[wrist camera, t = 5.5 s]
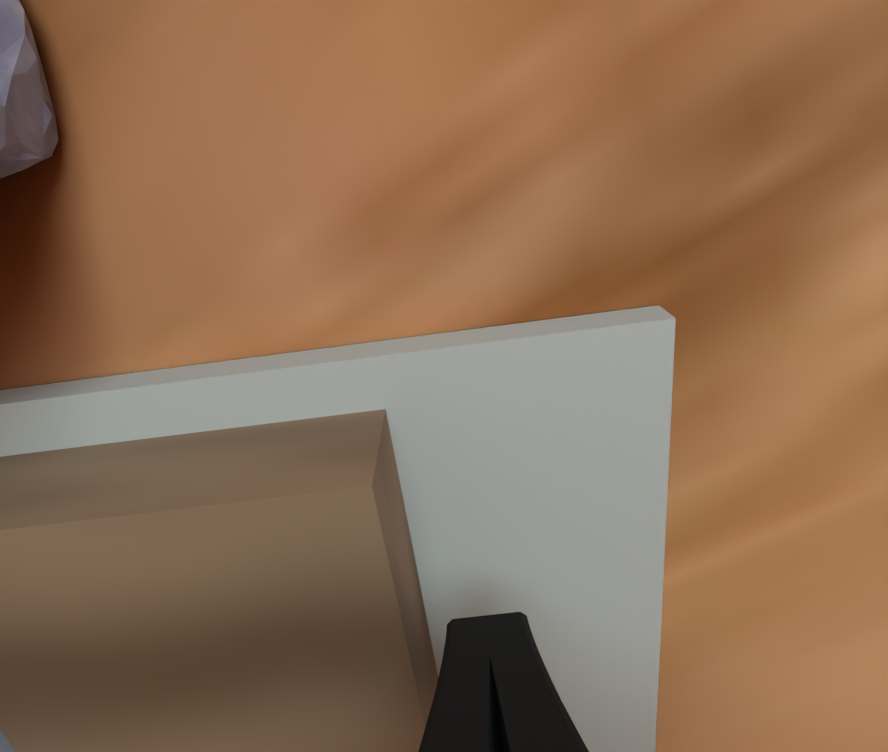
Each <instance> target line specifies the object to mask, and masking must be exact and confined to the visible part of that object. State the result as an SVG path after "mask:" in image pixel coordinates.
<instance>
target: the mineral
mask: <svg viewBox="0 0 888 752" xmlns="http://www.w3.org/2000/svg"><path fill="white" fill-rule="evenodd" d="M58 140H59V139H58V131H57V124H56V117H55V112H54V109H53V105H52V101H51V97H50V94H49V90H48V86H47V82H46V79H45V75H44V71H43V68H42V64H41V61H40V57H39V54H38V50H37V47H36V43H35V40H34V36H33V33H32V29H31V26H30V24H29V21H28V19H27V16H26V14H25V11H24V9H23V7H22V5H21V3H20V0H0V178H3V177H6V176H8V175H11V174H14V173H16V172H19V171H22V170H24V169H27V168H29V167H30V166H32V165H34V164H36V163H38V162H40V161H42V160H44V159H47V158H49V157H51V156H52V154H53V152H54V149H55V147H56V145H57V142H58Z"/></svg>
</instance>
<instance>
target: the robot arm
mask: <svg viewBox="0 0 888 752" xmlns="http://www.w3.org/2000/svg"><path fill="white" fill-rule="evenodd" d="M418 752H589V751H588V749H587V747H586V745H585V744H584V742H583V740H582V738H581V736H580V734H579V733H578V731H577V729H576V727H575V725H574V723H573V721H572V719H571V718H570V716H569V714H568V712H567V710H566V708H565V706H564V704H563V703H562V701H561V699H560V696H559V694H558V692H557V690H556V688H555V686H554V684H553V682H552V680H551V678H550V676H549V673H548V671H547V669H546V667H545V665H544V662H543V660H542V658H541V655H540V653H539V651H538V648H537V646H536V643H535V640H534V638H533V635H532V632H531V629H530V626H529V623H528V619H527V616H526V615H525V614H523V613H522V612H512V613H503V614H494V615H485V616H475V617H466V618H457V619H452V620H451V621H450V622H449V623H448V624H447V630H446V639H445V646H444V652H443V658H442V663H441V668H440V673H439V677H438V681H437V686H436V690H435V694H434V698H433V702H432V705H431V709H430V713H429V716H428V720H427V723H426V727H425V730H424V734H423V737H422V741H421V744H420V748H419V751H418Z"/></svg>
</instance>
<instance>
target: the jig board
mask: <svg viewBox="0 0 888 752" xmlns="http://www.w3.org/2000/svg"><path fill="white" fill-rule="evenodd" d="M674 340H675V318H674V317H673V316H672V315H671V314H669V313H668V312H667V311H665V310H664V309H663V308H662V307H660V306H659V305H658V306H650V307H642V308H635V309H627V310H619V311H611V312H603V313H596V314H588V315H580V316H572V317H565V318H557V319H549V320H541V321H534V322H526V323H518V324H510V325H502V326H495V327H487V328H479V329H471V330H464V331H456V332H448V333H440V334H433V335H425V336H417V337H409V338H401V339H394V340H386V341H378V342H370V343H363V344H355V345H347V346H339V347H331V348H324V349H316V350H308V351H300V352H293V353H285V354H277V355H269V356H262V357H254V358H246V359H238V360H230V361H223V362H215V363H207V364H199V365H192V366H184V367H176V368H168V369H160V370H153V371H145V372H137V373H129V374H122V375H114V376H106V377H98V378H91V379H83V380H75V381H67V382H59V383H52V384H44V385H36V386H28V387H21V388H13V389H5V390H0V457H2V456H10V455H18V454H26V453H34V452H42V451H50V450H58V449H66V448H74V447H83V446H91V445H99V444H107V443H115V442H123V441H131V440H139V439H147V438H155V437H163V436H172V435H180V434H188V433H196V432H204V431H212V430H220V429H228V428H236V427H244V426H252V425H261V424H269V423H277V422H285V421H293V420H301V419H309V418H317V417H325V416H333V415H342V414H350V413H358V412H366V411H374V410H382V409H386V414H387V419H388V424H389V429H390V434H391V439H392V444H393V449H394V455H395V460H396V465H397V470H398V475H399V480H400V485H401V490H402V495H403V500H404V505H405V510H406V516H407V521H408V526H409V531H410V536H411V541H412V546H413V551H414V556H415V561H416V566H417V571H418V577H419V582H420V587H421V592H422V597H423V602H424V607H425V612H426V617H427V622H428V627H429V632H430V638H431V643H432V648H433V653H434V658H435V663H436V668H437V673H438V677H439V673H440V668H441V663H442V658H443V652H444V646H445V639H446V630H447V624H448V623H449V622H450V621H451V620H452V619H457V618H466V617H475V616H485V615H494V614H503V613H512V612H522V613H523V614H525V615H526V616H527V619H528V623H529V626H530V629H531V632H532V635H533V638H534V640H535V643H536V646H537V648H538V651H539V653H540V655H541V658H542V660H543V662H544V665H545V667H546V669H547V671H548V673H549V676H550V678H551V680H552V682H553V684H554V686H555V688H556V690H557V692H558V694H559V696H560V699H561V701H562V703H563V704H564V706H565V708H566V710H567V712H568V714H569V716H570V718H571V719H572V721H573V723H574V725H575V727H576V729H577V731H578V733H579V734H580V736H581V738H582V740H583V742H584V744H585V745H586V747H587V749H588V751H589V752H655V746H656V724H657V703H658V682H659V660H660V639H661V618H662V596H663V575H664V553H665V532H666V511H667V489H668V468H669V447H670V425H671V404H672V382H673V361H674ZM0 752H16V751H15V750H14V748H13V747H12V746H11V744H10V743H9V741H8V740H7V739H6V737H5V736H4V735H3V733H2V732H1V730H0Z"/></svg>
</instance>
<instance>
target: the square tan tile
mask: <svg viewBox="0 0 888 752" xmlns="http://www.w3.org/2000/svg"><path fill="white" fill-rule="evenodd" d="M437 681H438V673H437V668H436V663H435V658H434V653H433V648H432V643H431V638H430V632H429V627H428V622H427V617H426V612H425V607H424V602H423V597H422V592H421V587H420V582H419V577H418V571H417V566H416V561H415V556H414V551H413V546H412V541H411V536H410V531H409V526H408V521H407V516H406V510H405V505H404V500H403V495H402V490H401V485H400V480H399V475H398V470H397V465H396V460H395V455H394V449H393V444H392V439H391V434H390V429H389V424H388V419H387V414H386V409H382V410H374V411H366V412H358V413H350V414H342V415H333V416H325V417H317V418H309V419H301V420H293V421H285V422H277V423H269V424H261V425H252V426H244V427H236V428H228V429H220V430H212V431H204V432H196V433H188V434H180V435H172V436H163V437H155V438H147V439H139V440H131V441H123V442H115V443H107V444H99V445H91V446H83V447H74V448H66V449H58V450H50V451H42V452H34V453H26V454H18V455H10V456H2V457H0V730H1V732H2V733H3V735H4V736H5V737H6V739H7V740H8V741H9V743H10V744H11V746H12V747H13V748H14V750H15V751H16V752H418V751H419V748H420V744H421V741H422V737H423V734H424V730H425V727H426V723H427V720H428V716H429V713H430V709H431V705H432V702H433V698H434V694H435V690H436V686H437Z"/></svg>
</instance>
